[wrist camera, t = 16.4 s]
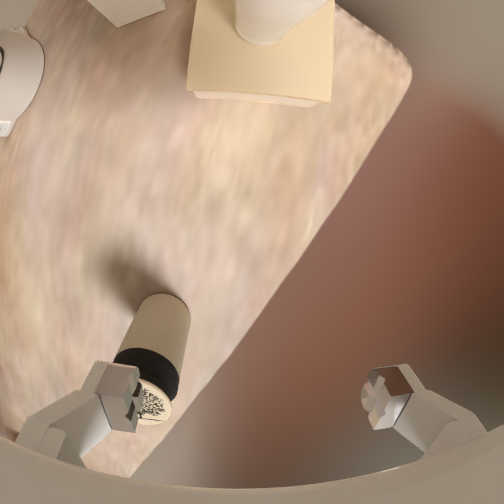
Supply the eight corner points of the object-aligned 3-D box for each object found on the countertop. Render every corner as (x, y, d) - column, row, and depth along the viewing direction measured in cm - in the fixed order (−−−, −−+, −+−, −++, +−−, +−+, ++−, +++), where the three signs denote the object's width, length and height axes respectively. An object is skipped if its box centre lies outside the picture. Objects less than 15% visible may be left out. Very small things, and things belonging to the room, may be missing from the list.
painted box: (195, 100, 34) (185, 89, 26) (206, 3, 29) (201, -25, 21) (311, 110, 35) (330, 102, 28) (316, 13, 30) (334, -11, 23)
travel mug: (140, 287, 42) (97, 368, 25) (194, 297, 43) (175, 386, 26) (139, 331, 44) (104, 417, 27) (188, 341, 45) (172, 432, 29)
